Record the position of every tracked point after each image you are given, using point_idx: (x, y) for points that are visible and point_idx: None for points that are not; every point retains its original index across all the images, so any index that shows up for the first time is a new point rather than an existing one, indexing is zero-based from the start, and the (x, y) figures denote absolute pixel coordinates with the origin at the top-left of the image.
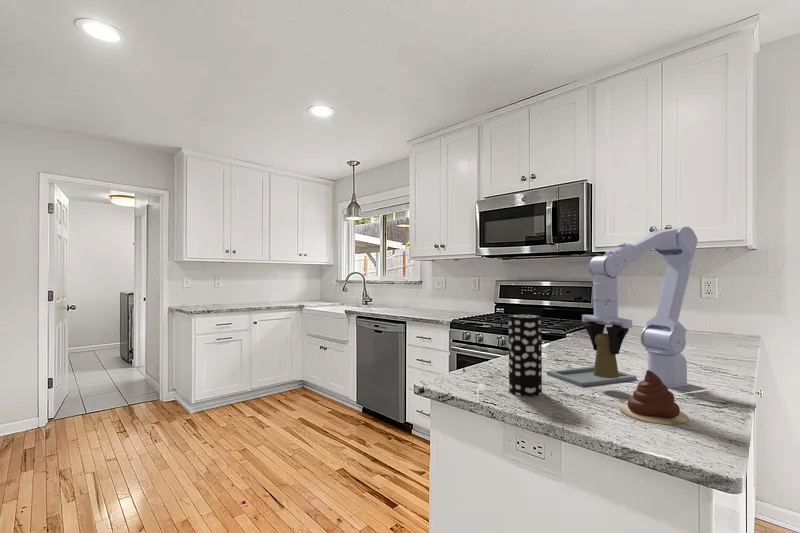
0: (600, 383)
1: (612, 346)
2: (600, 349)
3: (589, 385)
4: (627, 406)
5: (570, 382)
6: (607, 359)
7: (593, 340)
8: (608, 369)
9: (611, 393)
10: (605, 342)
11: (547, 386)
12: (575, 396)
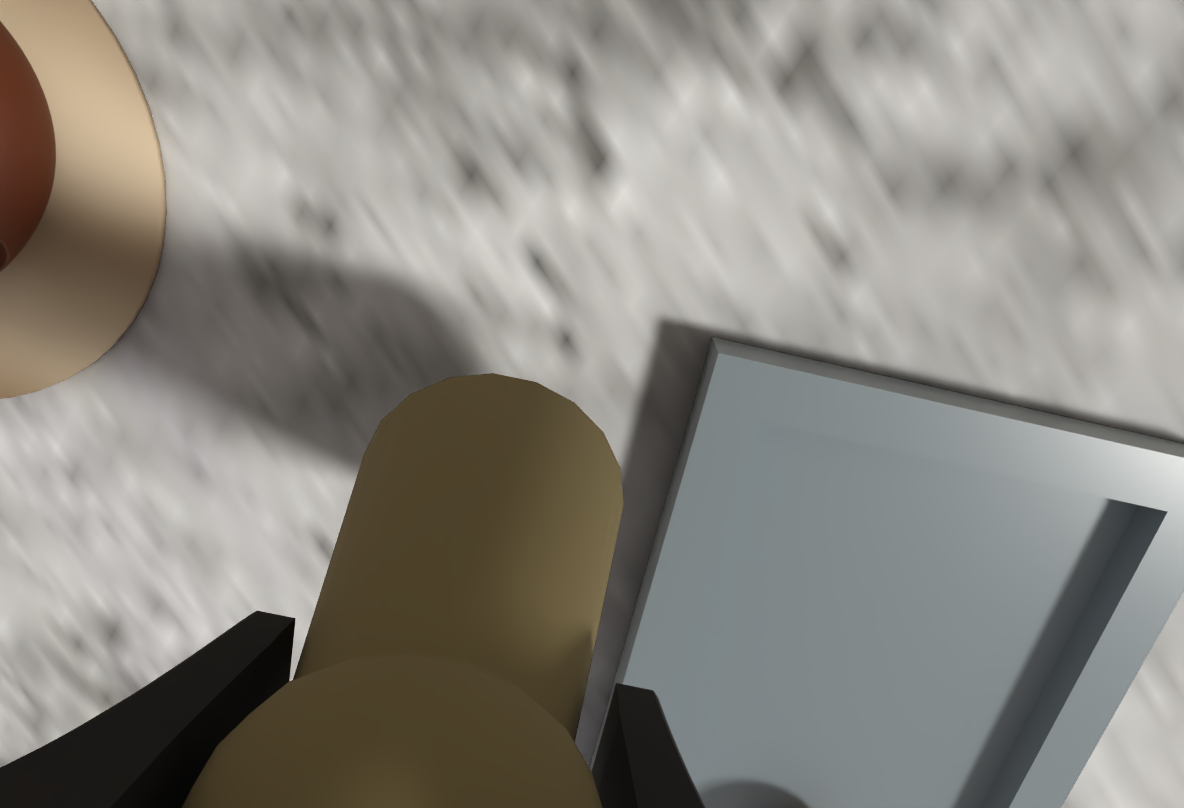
0: (652, 562)
1: (160, 676)
2: (430, 608)
3: (687, 437)
4: (101, 128)
5: (867, 376)
6: (357, 535)
7: (639, 803)
8: (376, 459)
9: None
10: (264, 708)
11: (1000, 103)
12: (589, 27)
